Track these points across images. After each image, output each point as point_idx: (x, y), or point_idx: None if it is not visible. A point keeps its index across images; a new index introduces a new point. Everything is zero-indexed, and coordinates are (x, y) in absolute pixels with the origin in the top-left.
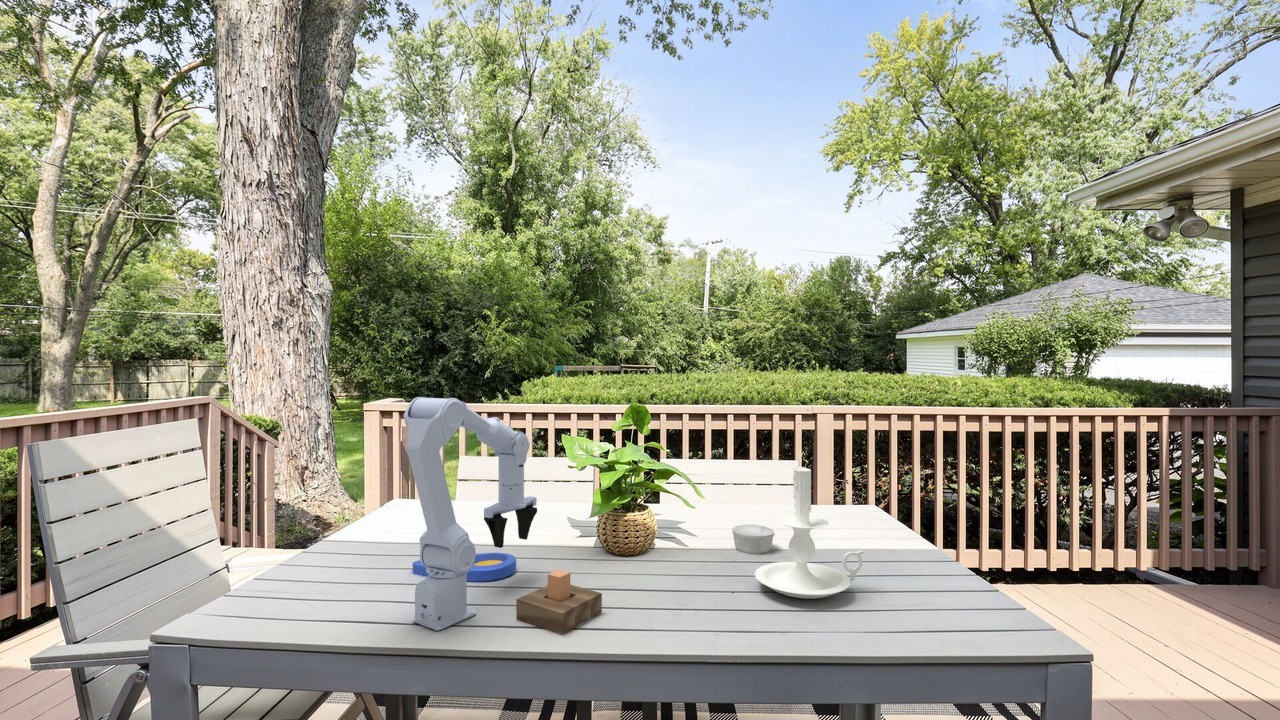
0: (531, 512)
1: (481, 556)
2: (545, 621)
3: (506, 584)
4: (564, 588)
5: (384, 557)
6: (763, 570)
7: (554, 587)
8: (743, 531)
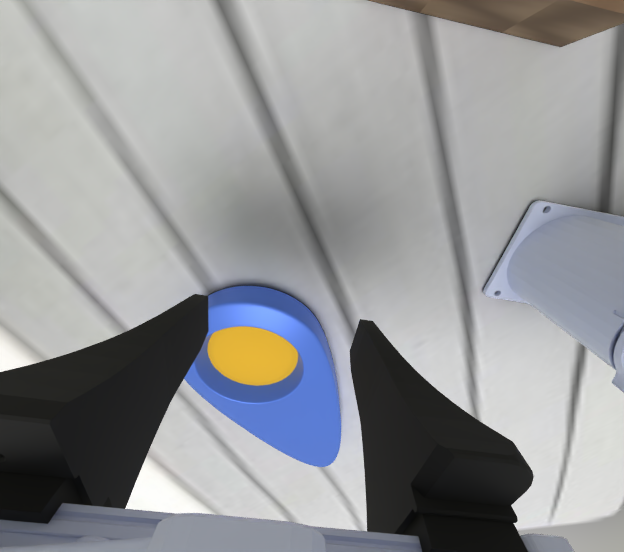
0: (72, 397)
1: (231, 393)
2: None
3: (304, 259)
4: None
5: (290, 502)
6: None
7: None
8: None
